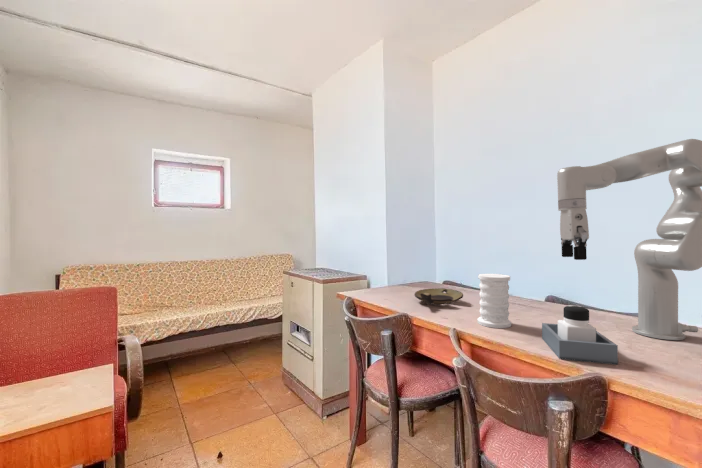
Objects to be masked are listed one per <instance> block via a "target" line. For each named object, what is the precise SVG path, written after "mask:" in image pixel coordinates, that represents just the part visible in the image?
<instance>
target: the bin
mask: <svg viewBox="0 0 702 468" xmlns="http://www.w3.org/2000/svg"><path fill="white" fill-rule="evenodd" d="M541 339H542V341H544V343H545V344H546V345H547V346H548V348H550V350H551V351H552V352H553V353H554V354H555V356H556V357H557V358H558V359H559V360H567V361H576V362H586V363H595V364H596V363H598V364H607V365H615V366H618V365H619V364H618V363H619V361H618V359H619V358H618V357H619V356H618V355H619V353H618V351H619V350H618V349H619V345H617V344H616V343H615V342H613V341H612V340H611V339H609V338H607V337H606V336H605V335H603V334H602V333H600V332H599V331H597V330H596V342H585V341H573V340H562V339H561V338H560V337H559V336H558V323H546V322H541Z"/></svg>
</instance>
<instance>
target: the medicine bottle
mask: <svg viewBox="0 0 702 468" xmlns="http://www.w3.org/2000/svg"><path fill="white" fill-rule="evenodd" d="M589 323H590V310H589V309H588V308H587V307H585V306H580V305H566V306H564V307H563V319H558V320H557V324H558V336H559V337H560V338H561V339H562V340H573V341H585V342H596V331H597V328H596V327H595V326H593V325H591V324H589Z"/></svg>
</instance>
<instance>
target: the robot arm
mask: <svg viewBox="0 0 702 468" xmlns="http://www.w3.org/2000/svg"><path fill="white" fill-rule="evenodd" d="M668 171H669V174H668V183H669V185H670V187H671V189H672V192H673V197H674V198H673V201H672V203H671V204H670V206H669V208H668V209H667V210H666V211H665V214H664V215H663V216H662V218H661V219H660V220H659V222H658V224H657V227H656V234H657V236H658V237H659V238H649V239H645V240H642V241H640V242H639V243H638V244H637V245H636V246H635V248H634V254H633V255H634V260H635V264H636V267H637V280H638V281H637V283H638V284H637V290H638V291H637V292H638V293H637V304H638V305H637V308H638V309H637V311H638V312H637V315H638V316H637V317H638V318H637V325H633V326H632V327H631V330H632V332H634V333H635V334H638V335H641V336H645V337H647V338H648V337H649V338H652V339H659V340H665V341H667V340H668V341H683V340H685V339H686V334H685V333H686V332H689V333H698V332H699V328H698V326H696V325H687V324H683V323H681V322H679V282H678V278H677V276H676V274H675V273H674V271H673V270H675V271H687V272H693V271H697V270H699V269H701V268H702V189H701V187H702V140H701V139H696V138H689V139H684V140H680V141H675V142H672V143H668V144H663V145H660V146H657V147H653V148H649V149H646V150H641V151H639V152H634V153H630V154H626V155H624V156H620V157H617V158H615V159H612V160H608V161H605V162H603V163H602V162H601V163H599V164H595V165H589V166H580V165H579V166H577V165H576V166H575V165H574V166H567V167H562V168H560V169H559V170H557V175H556V177H557V178H556V179H557V201H558V202H557V206H558V207H557V209H558V210H557V211H558V212H559V211H560V220H559V221H560V222H559V230H560V231H559V232H560V240H561V243H560V244H561V257H562V258H573V259H574V260H576V261H577V260H578V261H581V260H583V261H585V260H587V245H588V244H587V241H588V240H589V238H590V232H589V230H590V229H589V220H588V215H587V214H588V213H587V208H588V207H587V191H592V190H599V189H605V188H607V187H609V186H611V185H612V184H618V183H619V184H620V183H625V182H626V183H627V182H631V181H637V180H639V179H643V178H647V177H650V176H654V175H658V174H661V173H665V172H668ZM572 243H573V244H572ZM573 245H574V246H573Z"/></svg>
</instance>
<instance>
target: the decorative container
mask: <svg viewBox="0 0 702 468" xmlns="http://www.w3.org/2000/svg"><path fill="white" fill-rule="evenodd" d="M477 279H479V280H480V281H479V284H478V287H479V288H480V291H479V297H480V299H479V307H480V308H479V314H480V316H479V317H477V321H476V322H477V324H478V325H481V326H483V327H487V328H492V329H508V328H510V327H512V321H511V320H510V319H509V316H510V311H509V307H510V302H509V299H510V294H509V290H510V285H509V281H511V276H510V275H508V274H501V273H479V274H478V276H477Z"/></svg>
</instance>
